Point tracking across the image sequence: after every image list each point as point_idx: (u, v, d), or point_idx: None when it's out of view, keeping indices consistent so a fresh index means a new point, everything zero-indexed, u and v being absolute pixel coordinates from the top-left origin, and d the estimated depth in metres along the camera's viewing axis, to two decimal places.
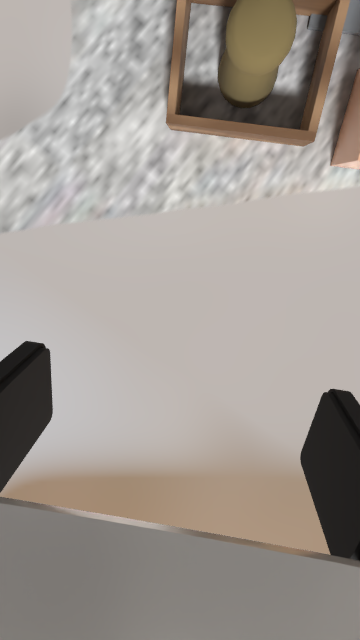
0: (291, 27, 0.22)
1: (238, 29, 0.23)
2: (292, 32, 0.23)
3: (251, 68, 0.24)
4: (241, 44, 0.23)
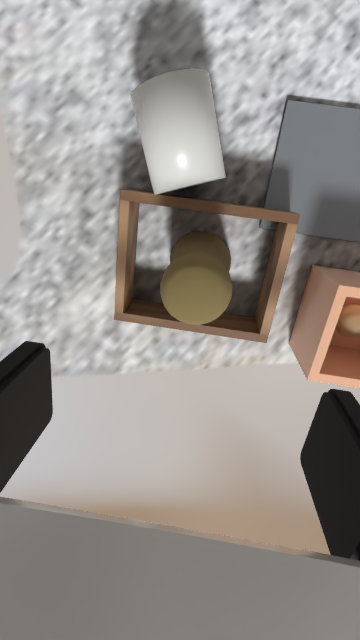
0: (224, 299, 0.21)
1: (169, 299, 0.22)
2: (226, 302, 0.22)
3: (187, 323, 0.23)
4: (174, 310, 0.22)
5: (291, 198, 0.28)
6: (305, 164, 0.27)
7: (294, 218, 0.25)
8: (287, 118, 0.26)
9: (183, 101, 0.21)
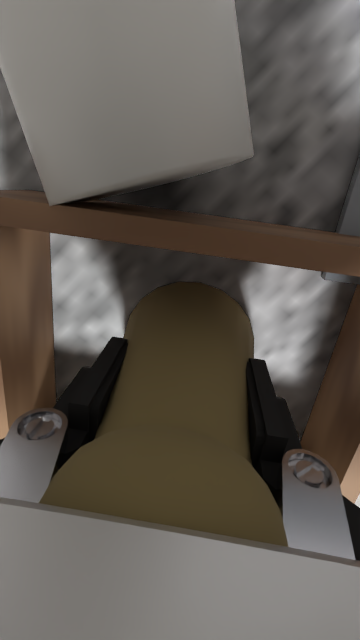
0: None
1: None
2: None
3: None
4: None
5: None
6: None
7: None
8: None
9: None
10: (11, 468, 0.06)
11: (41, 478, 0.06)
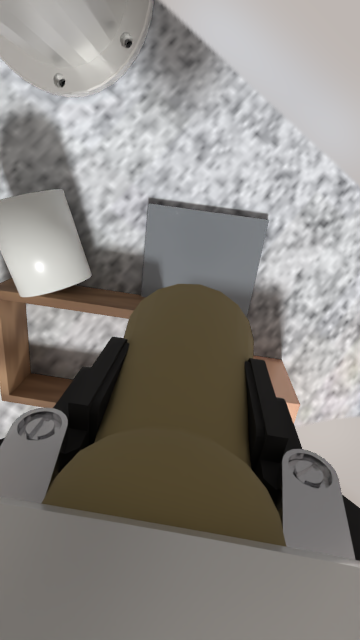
0: None
1: None
2: None
3: None
4: None
5: None
6: (173, 260, 0.28)
7: None
8: (150, 218, 0.27)
9: (23, 223, 0.22)
10: (12, 468, 0.06)
11: (41, 478, 0.06)
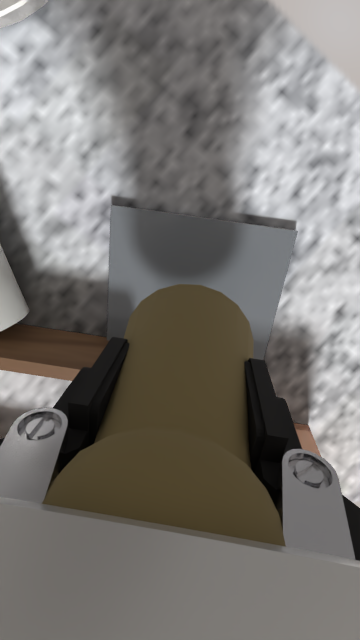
0: None
1: None
2: None
3: None
4: None
5: None
6: (151, 289, 0.18)
7: None
8: (115, 228, 0.17)
9: None
10: (12, 468, 0.06)
11: (41, 478, 0.06)
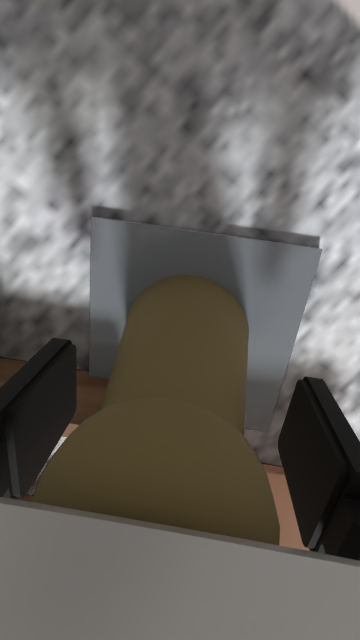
0: None
1: None
2: None
3: None
4: None
5: None
6: None
7: None
8: (97, 245, 0.14)
9: None
10: None
11: None
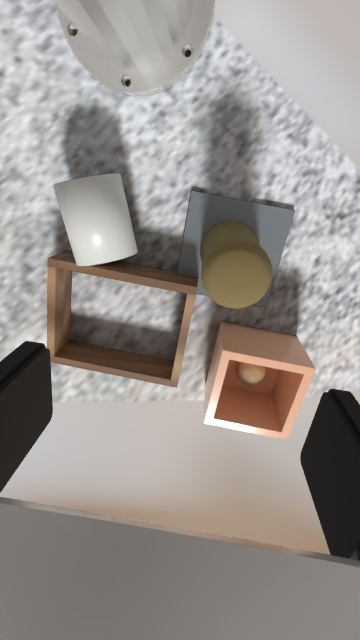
0: (266, 283, 0.22)
1: (212, 281, 0.22)
2: (267, 286, 0.22)
3: None
4: (215, 293, 0.23)
5: (199, 267, 0.33)
6: None
7: (192, 290, 0.30)
8: (192, 204, 0.30)
9: (90, 201, 0.26)
10: None
11: None
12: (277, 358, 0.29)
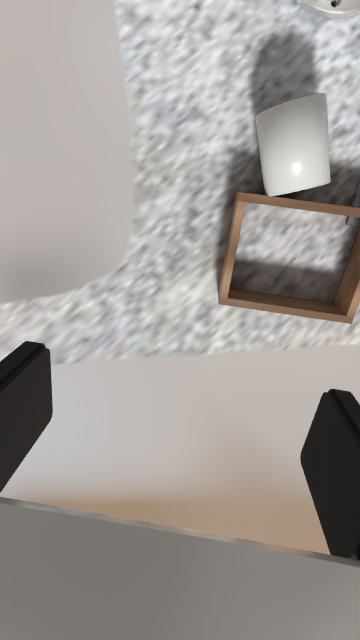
0: None
1: None
2: None
3: None
4: None
5: None
6: None
7: None
8: None
9: (310, 121, 0.26)
10: None
11: None
12: None
